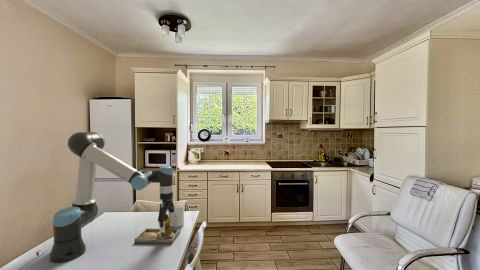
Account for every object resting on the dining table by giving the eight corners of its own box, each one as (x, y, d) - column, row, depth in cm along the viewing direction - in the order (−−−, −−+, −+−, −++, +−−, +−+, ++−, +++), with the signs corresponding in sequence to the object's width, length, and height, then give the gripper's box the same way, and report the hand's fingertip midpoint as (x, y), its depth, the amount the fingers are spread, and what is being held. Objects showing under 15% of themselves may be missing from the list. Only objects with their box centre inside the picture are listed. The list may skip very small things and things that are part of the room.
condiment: (161, 239, 131) (159, 221, 129) (158, 232, 138) (155, 214, 136) (174, 234, 135) (171, 216, 133) (170, 227, 142) (167, 210, 139)
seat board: (171, 244, 130) (171, 239, 130) (134, 243, 132) (134, 239, 132) (179, 232, 144) (179, 229, 144) (146, 232, 146) (145, 228, 146)
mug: (185, 222, 160) (185, 207, 160) (182, 228, 151) (181, 211, 151) (168, 222, 160) (167, 207, 160) (164, 228, 151) (163, 211, 151)
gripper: (164, 198, 124) (165, 237, 125) (179, 186, 149) (179, 219, 150) (151, 198, 125) (151, 236, 125) (167, 186, 149) (168, 218, 150)
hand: (166, 227), depth 137 cm, fingers open, 13 cm apart
